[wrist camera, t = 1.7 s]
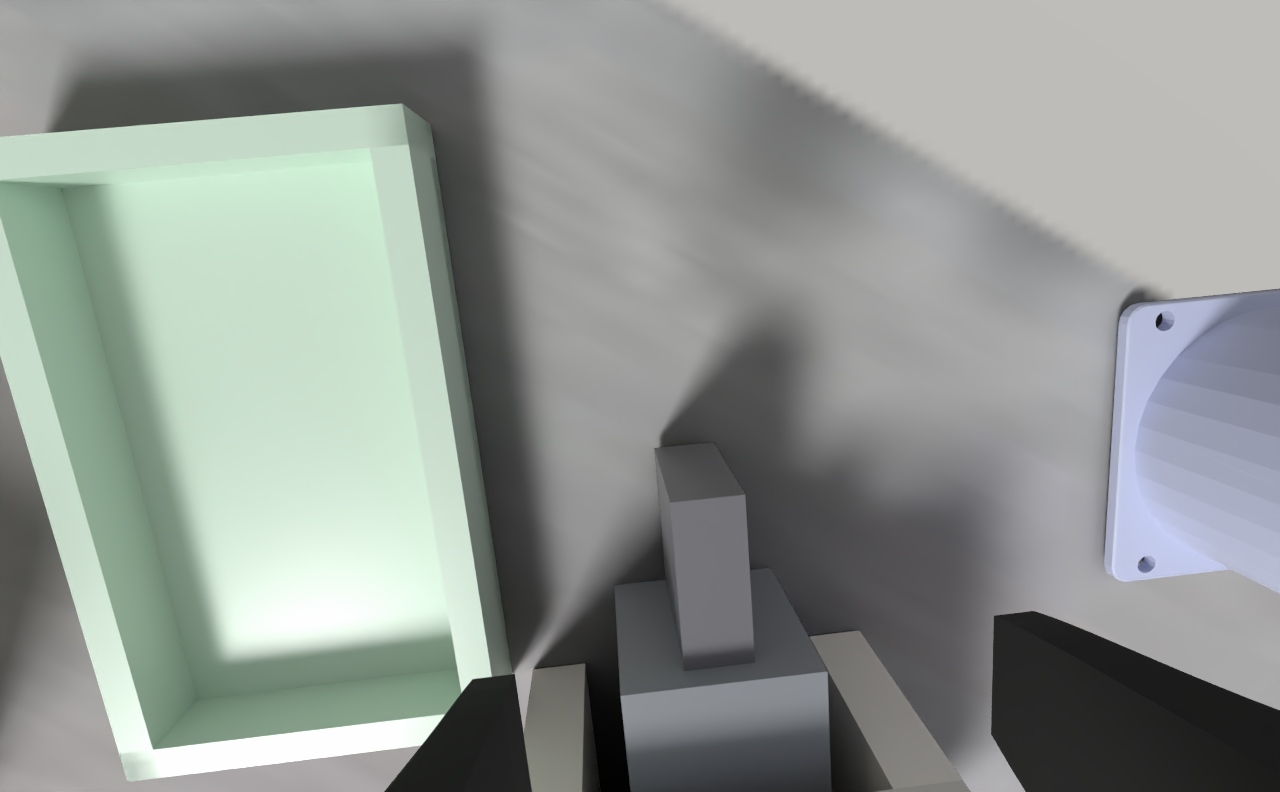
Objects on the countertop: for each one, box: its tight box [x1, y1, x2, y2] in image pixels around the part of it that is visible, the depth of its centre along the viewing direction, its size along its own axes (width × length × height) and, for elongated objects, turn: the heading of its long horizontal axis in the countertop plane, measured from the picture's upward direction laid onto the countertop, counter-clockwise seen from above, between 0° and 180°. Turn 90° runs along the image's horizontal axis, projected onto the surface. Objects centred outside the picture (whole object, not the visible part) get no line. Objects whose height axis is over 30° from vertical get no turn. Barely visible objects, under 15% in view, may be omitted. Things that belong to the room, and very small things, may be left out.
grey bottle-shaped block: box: [614, 442, 831, 792], centre depth 17 cm, size 4×11×5 cm, turn 5°
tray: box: [0, 103, 513, 782], centre depth 17 cm, size 9×15×2 cm, turn 5°
